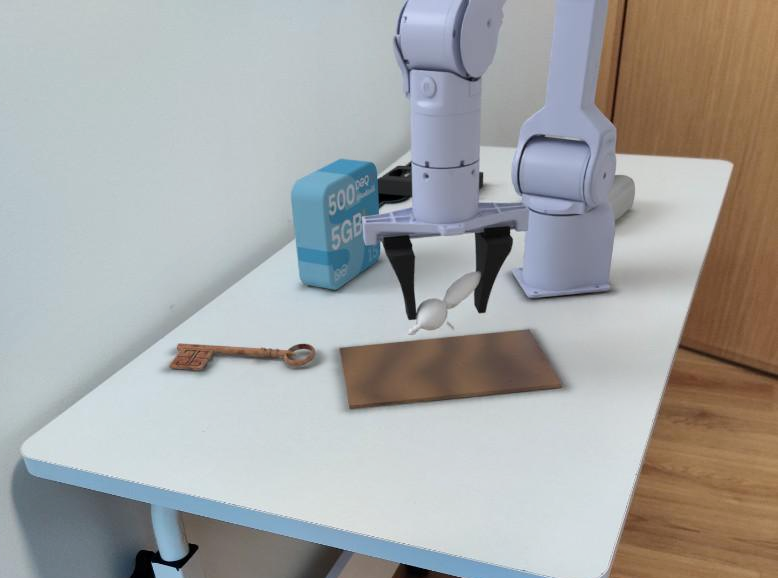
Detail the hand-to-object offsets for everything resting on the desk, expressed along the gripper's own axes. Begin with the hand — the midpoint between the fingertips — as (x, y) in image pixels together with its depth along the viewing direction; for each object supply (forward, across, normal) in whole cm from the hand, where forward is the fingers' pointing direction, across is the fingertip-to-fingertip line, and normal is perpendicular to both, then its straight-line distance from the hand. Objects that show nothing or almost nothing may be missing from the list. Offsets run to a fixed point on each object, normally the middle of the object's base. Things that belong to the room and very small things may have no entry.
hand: (445, 312), depth 79 cm
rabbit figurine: (+2, 0, 0) cm, 2 cm away
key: (+6, -20, +6) cm, 22 cm away
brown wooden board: (+6, 0, 0) cm, 6 cm away
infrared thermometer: (+6, +24, +40) cm, 47 cm away
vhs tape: (+6, +8, +57) cm, 58 cm away
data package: (+6, -8, +27) cm, 29 cm away
